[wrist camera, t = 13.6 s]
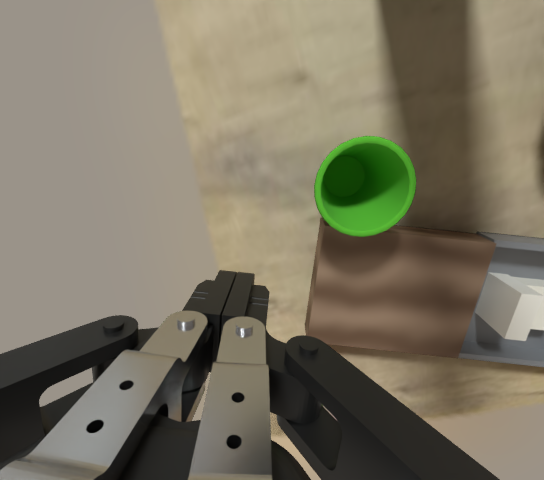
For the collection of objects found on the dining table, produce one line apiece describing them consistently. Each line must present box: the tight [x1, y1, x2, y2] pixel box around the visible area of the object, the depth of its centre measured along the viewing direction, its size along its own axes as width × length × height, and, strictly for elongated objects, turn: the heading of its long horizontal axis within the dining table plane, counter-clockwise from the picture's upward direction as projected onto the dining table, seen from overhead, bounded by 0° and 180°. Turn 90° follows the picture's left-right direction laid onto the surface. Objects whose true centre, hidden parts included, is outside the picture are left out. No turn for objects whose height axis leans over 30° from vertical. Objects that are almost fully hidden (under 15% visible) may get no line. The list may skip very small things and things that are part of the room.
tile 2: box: [513, 277, 544, 330], centre depth 40 cm, size 6×6×2 cm
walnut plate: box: [305, 218, 496, 358], centre depth 40 cm, size 16×20×4 cm
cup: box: [314, 136, 416, 237], centre depth 33 cm, size 9×9×11 cm
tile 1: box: [475, 272, 544, 341], centre depth 39 cm, size 6×6×2 cm
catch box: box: [458, 232, 544, 367], centre depth 40 cm, size 17×15×4 cm
